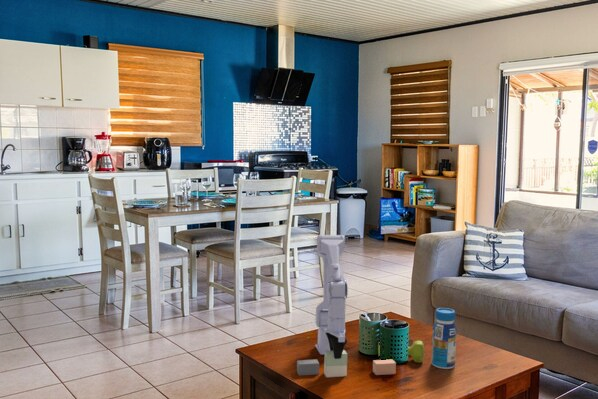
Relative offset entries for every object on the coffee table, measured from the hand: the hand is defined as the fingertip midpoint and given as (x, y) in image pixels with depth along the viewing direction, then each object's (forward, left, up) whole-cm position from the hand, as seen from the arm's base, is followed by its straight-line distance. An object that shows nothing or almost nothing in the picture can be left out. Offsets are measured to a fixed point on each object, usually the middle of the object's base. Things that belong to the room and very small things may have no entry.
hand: (335, 355), depth 200 cm
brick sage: (0, 0, -3) cm, 3 cm away
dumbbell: (-10, +27, -7) cm, 29 cm away
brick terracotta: (+1, +17, -7) cm, 18 cm away
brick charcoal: (-3, -9, -7) cm, 12 cm away
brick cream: (0, 0, -7) cm, 7 cm away
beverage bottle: (-2, +40, -7) cm, 41 cm away
